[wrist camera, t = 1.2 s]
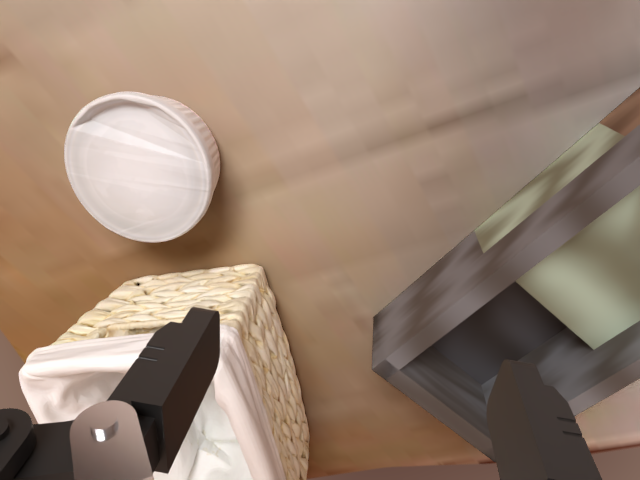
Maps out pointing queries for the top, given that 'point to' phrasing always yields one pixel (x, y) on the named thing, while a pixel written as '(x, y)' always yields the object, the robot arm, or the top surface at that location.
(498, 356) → the lane
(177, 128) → the ramekin
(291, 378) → the storage basket
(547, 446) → the robot arm
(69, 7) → the top surface
